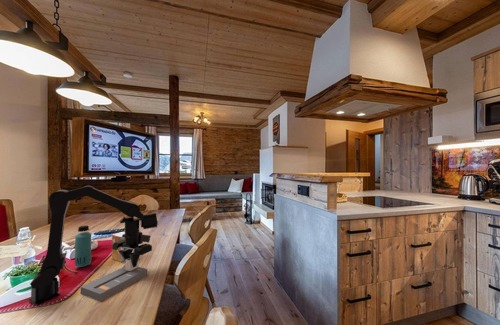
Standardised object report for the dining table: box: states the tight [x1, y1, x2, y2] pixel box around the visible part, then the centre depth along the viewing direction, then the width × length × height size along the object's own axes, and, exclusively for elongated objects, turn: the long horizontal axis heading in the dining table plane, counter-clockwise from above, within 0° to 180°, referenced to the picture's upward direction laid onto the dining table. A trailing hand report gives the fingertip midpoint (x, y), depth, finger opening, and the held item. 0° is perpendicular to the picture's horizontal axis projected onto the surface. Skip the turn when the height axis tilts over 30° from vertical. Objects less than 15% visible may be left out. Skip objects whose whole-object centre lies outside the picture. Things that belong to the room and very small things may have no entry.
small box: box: [111, 231, 126, 263], centre depth 111 cm, size 8×6×13 cm
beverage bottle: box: [74, 225, 92, 268], centre depth 101 cm, size 6×7×20 cm
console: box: [80, 265, 148, 302], centre depth 87 cm, size 20×12×3 cm, turn 157°
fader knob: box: [125, 258, 139, 271], centre depth 93 cm, size 4×3×6 cm
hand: (132, 266), depth 93 cm, fingers closed on fader knob, 3 cm apart
